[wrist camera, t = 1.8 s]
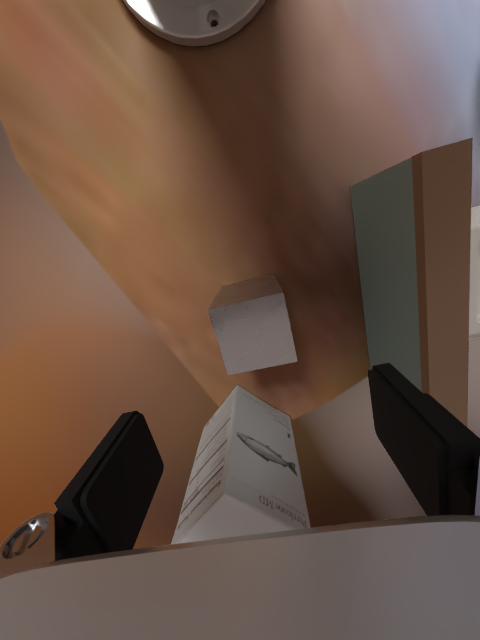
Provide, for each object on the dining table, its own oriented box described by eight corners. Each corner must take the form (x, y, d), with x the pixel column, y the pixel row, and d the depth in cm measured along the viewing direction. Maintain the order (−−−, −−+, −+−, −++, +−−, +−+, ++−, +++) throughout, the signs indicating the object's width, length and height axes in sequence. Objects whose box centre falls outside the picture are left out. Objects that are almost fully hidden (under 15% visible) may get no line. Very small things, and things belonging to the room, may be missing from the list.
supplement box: (291, 415, 29) (319, 544, 17) (253, 456, 31) (253, 597, 19) (237, 381, 28) (224, 493, 16) (201, 426, 30) (166, 555, 18)
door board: (348, 187, 21) (421, 151, 12) (376, 179, 21) (472, 137, 12) (371, 391, 27) (432, 472, 18) (393, 387, 27) (466, 467, 18)
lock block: (222, 286, 25) (208, 309, 17) (274, 273, 24) (283, 292, 16) (235, 334, 26) (227, 375, 19) (284, 323, 25) (297, 361, 18)
